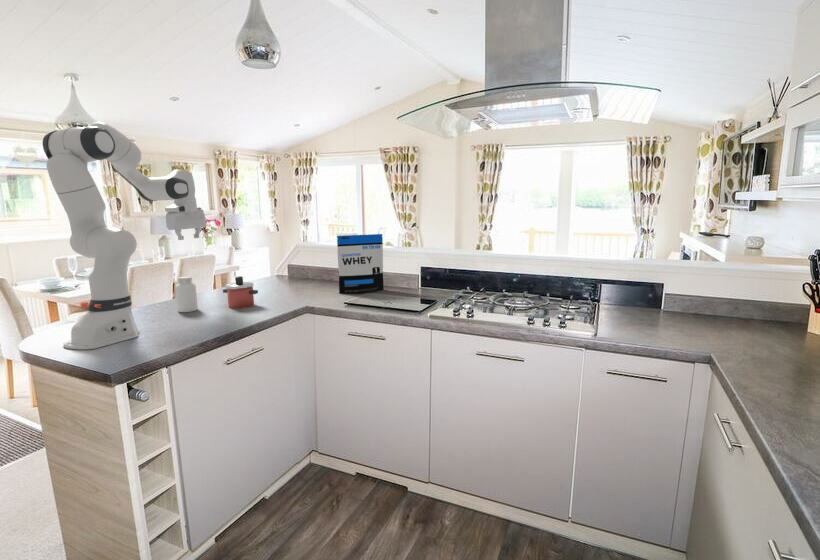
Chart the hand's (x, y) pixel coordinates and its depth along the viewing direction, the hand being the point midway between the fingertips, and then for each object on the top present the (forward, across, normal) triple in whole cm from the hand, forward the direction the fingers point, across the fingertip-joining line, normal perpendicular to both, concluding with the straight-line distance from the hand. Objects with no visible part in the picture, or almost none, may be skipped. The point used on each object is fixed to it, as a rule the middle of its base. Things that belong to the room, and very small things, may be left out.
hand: (189, 239), depth 193 cm
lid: (+22, -6, +20) cm, 30 cm away
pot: (+31, -6, +20) cm, 37 cm away
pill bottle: (+31, +7, +2) cm, 32 cm away
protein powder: (+32, -48, +63) cm, 85 cm away
